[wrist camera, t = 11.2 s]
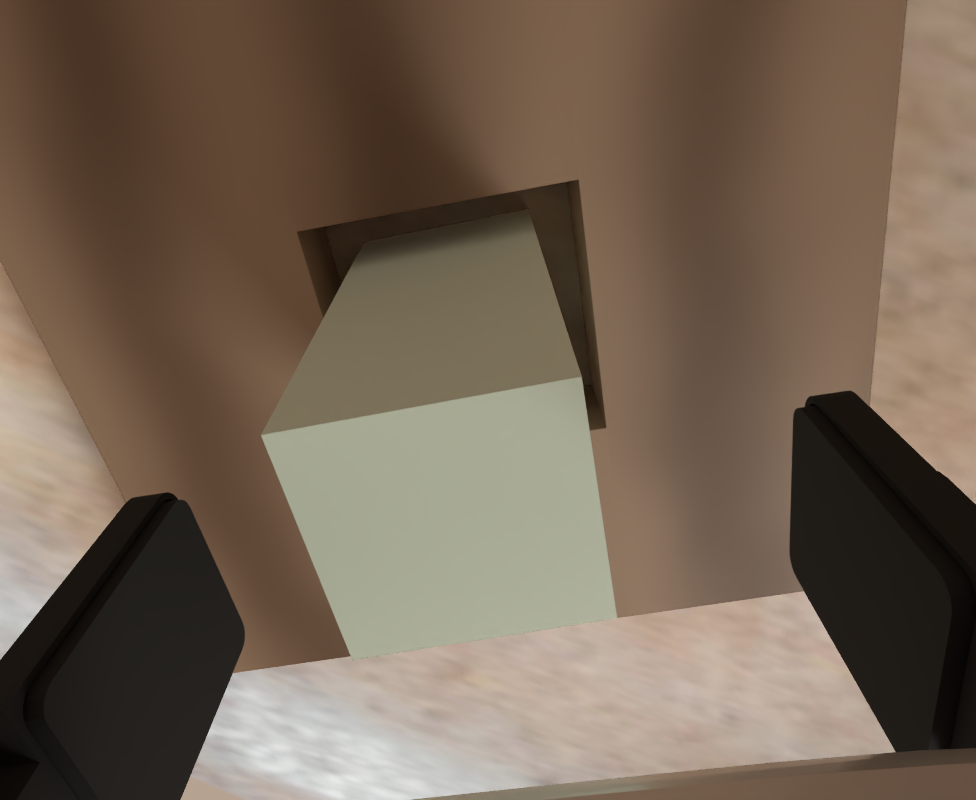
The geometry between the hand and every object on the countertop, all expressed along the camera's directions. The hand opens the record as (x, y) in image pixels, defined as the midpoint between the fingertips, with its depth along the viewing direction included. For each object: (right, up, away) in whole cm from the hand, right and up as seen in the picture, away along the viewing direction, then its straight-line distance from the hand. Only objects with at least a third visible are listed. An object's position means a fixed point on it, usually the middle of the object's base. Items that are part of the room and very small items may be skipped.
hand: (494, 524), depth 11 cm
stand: (-1, +5, +8) cm, 10 cm away
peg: (-1, +5, +8) cm, 10 cm away
